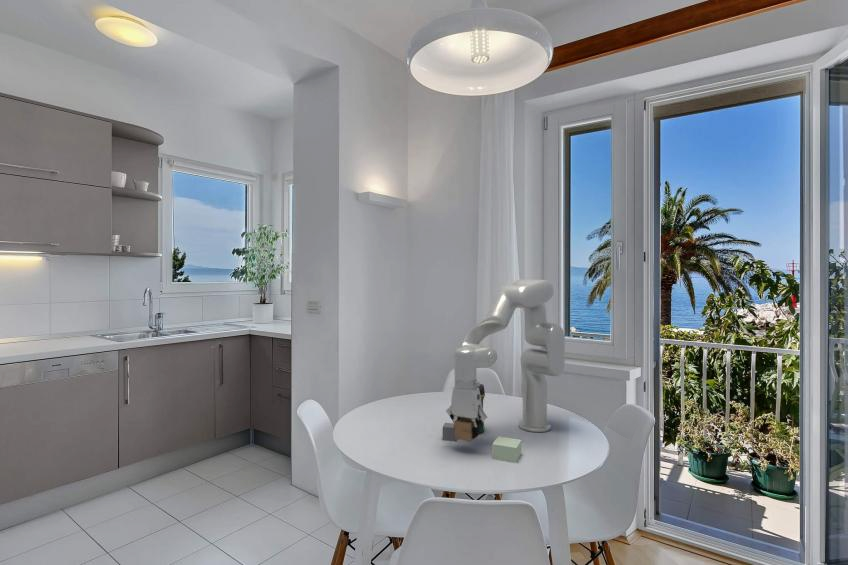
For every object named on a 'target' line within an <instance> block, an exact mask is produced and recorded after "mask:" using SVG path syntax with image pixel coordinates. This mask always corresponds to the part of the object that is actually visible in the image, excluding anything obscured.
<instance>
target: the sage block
mask: <svg viewBox="0 0 848 565" xmlns="http://www.w3.org/2000/svg"><path fill="white" fill-rule="evenodd" d="M522 442H523V441H522V439H517V438H511V437H505V436H504V437H503V436H497V438H496V439H494V440H493V443H492V445H491V446H492V447H491V449H492V452H491V459H492V460H498V461H502V462H504V461H505V462H511V463H514V464H515V463H517V462H518V461H519V459H520V457H521V456H522Z"/></svg>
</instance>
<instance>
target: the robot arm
mask: <svg viewBox="0 0 848 565" xmlns="http://www.w3.org/2000/svg"><path fill="white" fill-rule="evenodd" d="M554 293H555V289H554V285H553V283H552V282H551V281H550V280H547V279H531V278H530V279H527V278H526V279H525V278H524V279H517V280H515V281H513V283H512V284H506V285H502V286H501V287H500V289H499V290H498V291H497V294H496V295H495V297H494V300H493V301H492V303H491V306H490V308H489V310H488V312H487V314H486V315H485V317H484V318H482V319H481V320H480V321H478V322H477V323H476V324H475V325H473V326H472V327H471V328H470V329H469V330H468V332H467V333H466V335H465V336H464V339H463V340H462V342H461V345H460V347H458V348H456V349H455V350H454V354H453V355H454V356H453V358H454V359H453V362H454V387H453V389H452V393H451V404H450V405H449V407H448V408H447V409H446V410H445V413H446V414H447V415H448V416H449V418H450V419H451V420H452V423H454V431H455V421H456V420H457V419H459V418H460V417H464V418H470V419H471V420H472V423H473V425H474V427H472V437H473V439H474V440H475V439H476V438H478V437H479V434H480V433H479V425H480V424H481V423H482V422H483V421H484V422H485V420H487V419H488V416H487V414H486V413H485V412H484V409H483V410H482V402H481V395H480V391H479V388H477V386H480V384H481V383H480V382H478V378H477V369H480V368H481V369H482V368H483V369H484V368H485V369H486V368H490V367H492V366H493V365H494V364H496V362H497V360H498V354H497V351H496V350H495V349H494V348H493V347H491V346H489V345H483V344H480V343H481V342H482V341H483V340H484V339H485V338H487V337H489V336H490V335H493V334H495V333H497V332H498V333H499V332H500V331H501V332H502V331H503V330H505V329H507V328H508V326H509V324H510V321H511V320H512V317H513V315H514V313H515V311H516V309H523V311H524V312H523V313H524V340H525V342H526V343H527V344H529V345H531V346H535V347H542V348H546V349H542V348H534V347H533V348H530V347H529V348H527V349H525V350H523V352H522V353H521V354H520V355H521V356H520V366H521V372H522V420H520V421H518V427H519V429H521V430H523V431H527V432H533V433H545V432H549V431H550V430H551V428H552V425H551V424H550V423H549V422H548V381H547V378H546V376H548V377H549V376H550V377H558V376H561V375H562V373H563V372H564V370H565V364H566V363H565V361H566V359H565V358H566V357H565V356H566V351H565V350H566V349H565V348H566V339H565V338H566V337H565V336H566V335H565V331H564V329H563V328H562V327H561V325H559V324H557V323H554V322H553V323H552V322H547V321H548V320H547V309H546V306H545V303H548V302H550V300H551V299H552V298H553V296H554ZM478 416H481V419H479V418H478Z"/></svg>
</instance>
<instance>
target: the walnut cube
mask: <svg viewBox="0 0 848 565" xmlns="http://www.w3.org/2000/svg"><path fill="white" fill-rule="evenodd" d="M472 427H474V425H473V423H472V420H471V419H470V418H464V417H461V418H459V419H457V420H456V421H455V439H457V440H461V441H466V442H470V443H471V442H472V441H474V440H475V439H473V437H472Z"/></svg>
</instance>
